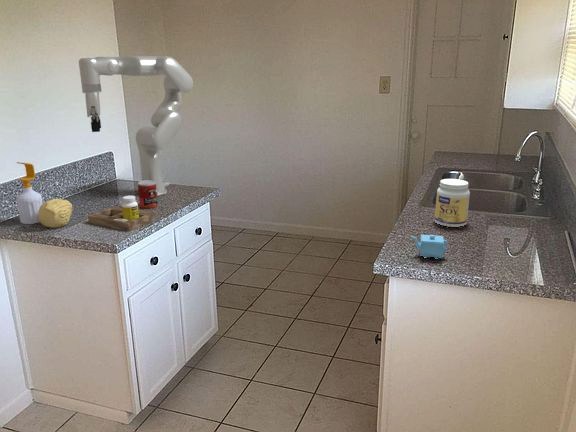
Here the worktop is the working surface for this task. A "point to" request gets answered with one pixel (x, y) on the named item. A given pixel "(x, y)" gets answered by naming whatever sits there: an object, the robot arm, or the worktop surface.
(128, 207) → the pill bottle
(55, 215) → the sculpture
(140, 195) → the canned food
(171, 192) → the worktop surface
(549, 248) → the worktop surface
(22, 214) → the soap bottle
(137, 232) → the worktop surface
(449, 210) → the supplement tub
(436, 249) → the teapot
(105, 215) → the socket rack
